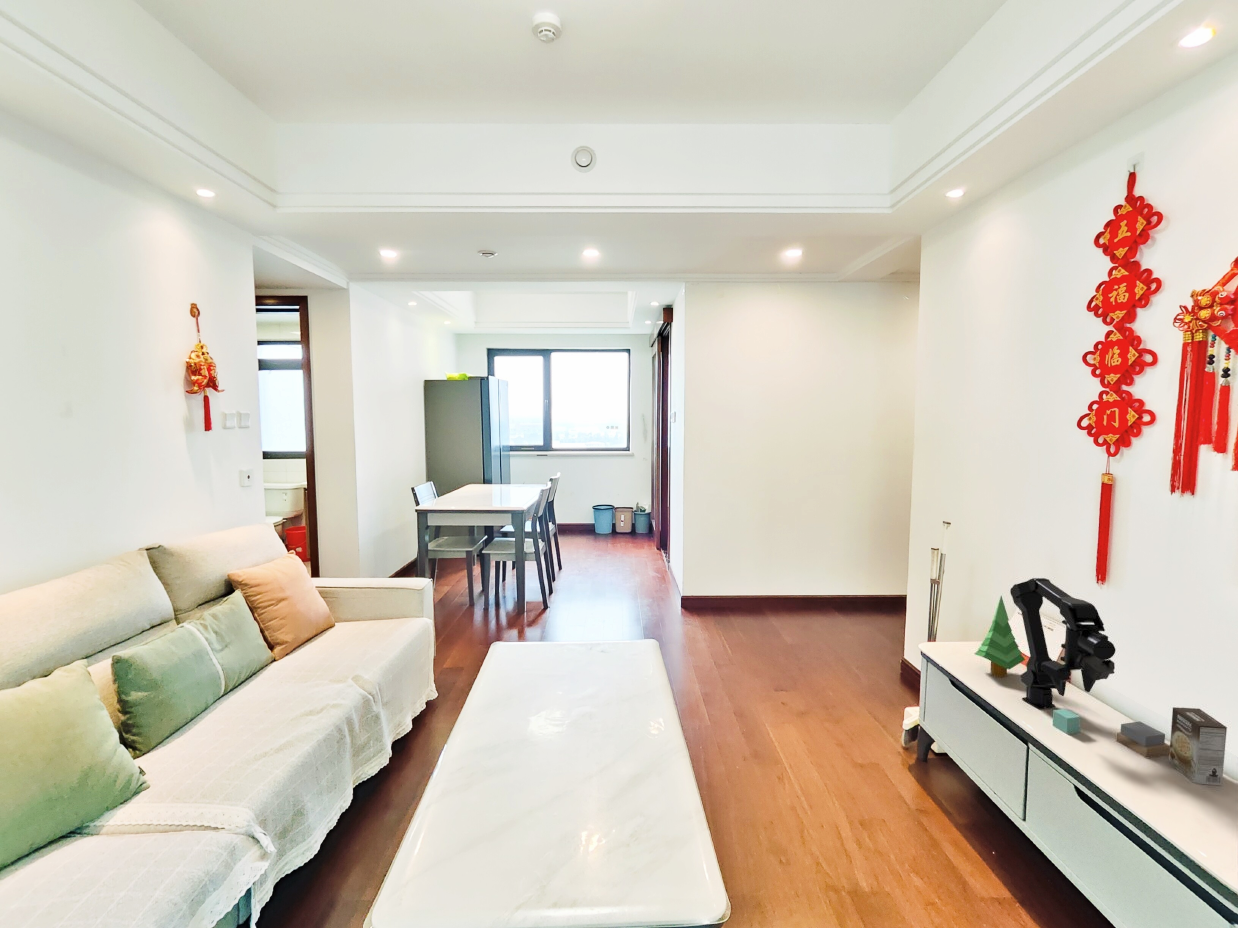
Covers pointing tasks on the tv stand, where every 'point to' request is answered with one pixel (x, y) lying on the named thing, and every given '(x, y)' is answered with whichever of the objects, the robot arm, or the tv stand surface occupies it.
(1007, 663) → the decorative tree
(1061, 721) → the teal block
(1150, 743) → the charcoal middle block
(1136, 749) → the walnut base block
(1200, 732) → the coffee box
